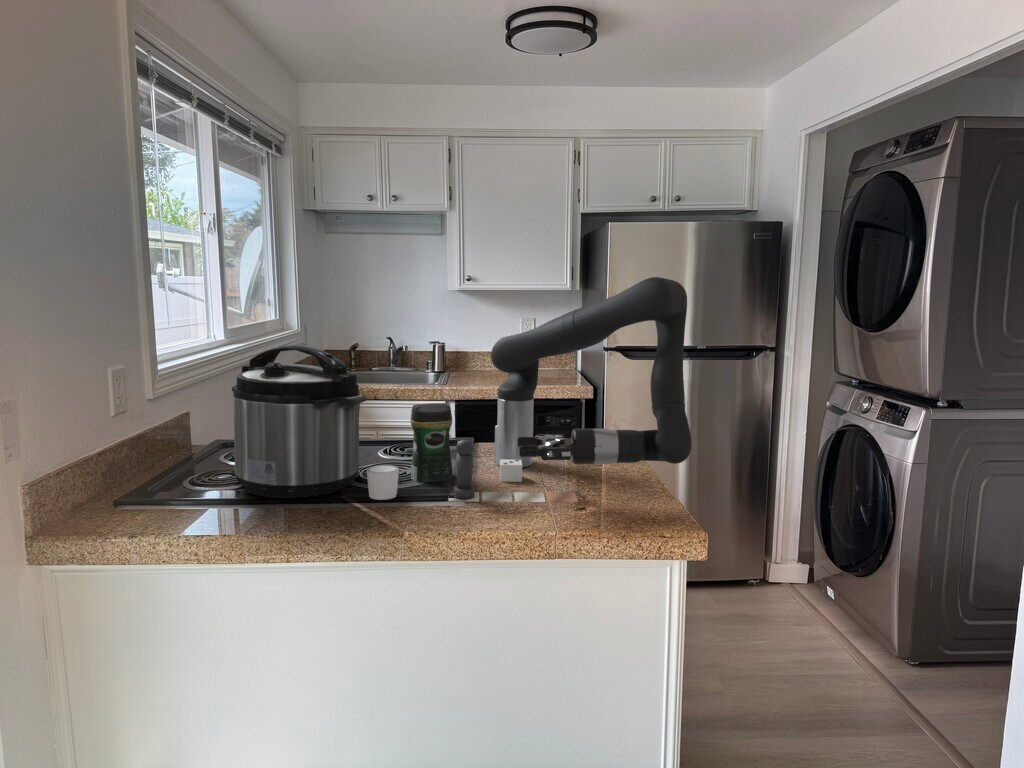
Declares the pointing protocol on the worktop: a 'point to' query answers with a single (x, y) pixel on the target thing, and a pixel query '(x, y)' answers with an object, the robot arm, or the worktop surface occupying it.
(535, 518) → the worktop surface
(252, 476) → the pressure cooker
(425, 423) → the coffee jar
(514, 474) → the die
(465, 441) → the pawn
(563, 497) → the track board
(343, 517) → the worktop surface
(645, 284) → the robot arm
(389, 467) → the white cup
